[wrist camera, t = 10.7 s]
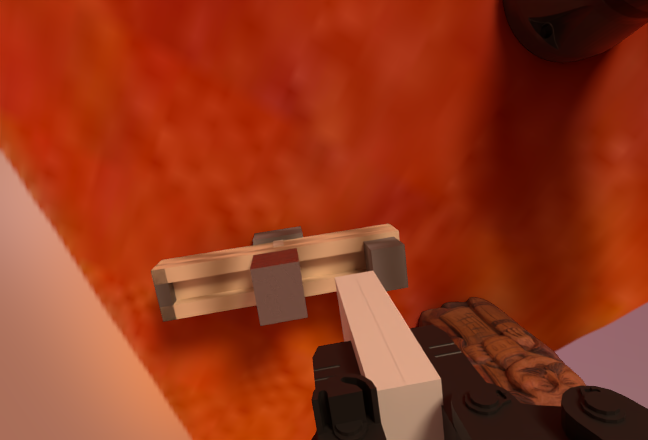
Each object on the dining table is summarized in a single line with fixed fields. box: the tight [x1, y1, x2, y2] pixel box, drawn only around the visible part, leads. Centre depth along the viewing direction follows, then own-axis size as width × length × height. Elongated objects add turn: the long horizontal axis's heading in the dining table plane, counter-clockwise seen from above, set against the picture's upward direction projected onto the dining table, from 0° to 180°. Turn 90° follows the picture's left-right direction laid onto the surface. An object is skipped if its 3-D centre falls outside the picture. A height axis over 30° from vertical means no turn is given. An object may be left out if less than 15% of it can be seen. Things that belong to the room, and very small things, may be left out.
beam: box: [151, 224, 408, 322], centre depth 36 cm, size 23×6×9 cm, turn 98°
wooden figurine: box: [419, 297, 586, 406], centre depth 36 cm, size 12×6×18 cm, turn 97°
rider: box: [250, 248, 308, 326], centre depth 33 cm, size 4×5×5 cm
